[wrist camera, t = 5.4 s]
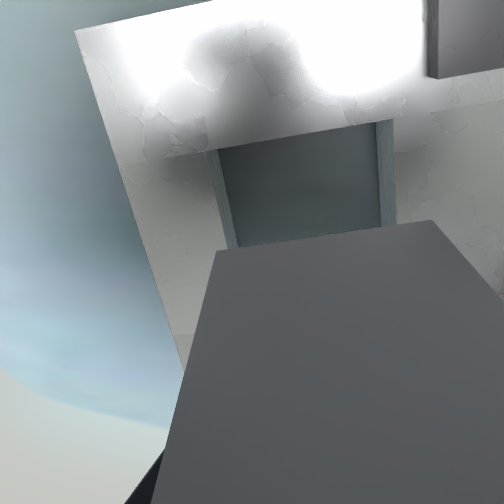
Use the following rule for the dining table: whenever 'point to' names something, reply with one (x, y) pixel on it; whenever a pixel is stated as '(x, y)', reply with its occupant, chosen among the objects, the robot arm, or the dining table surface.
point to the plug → (342, 376)
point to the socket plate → (302, 117)
